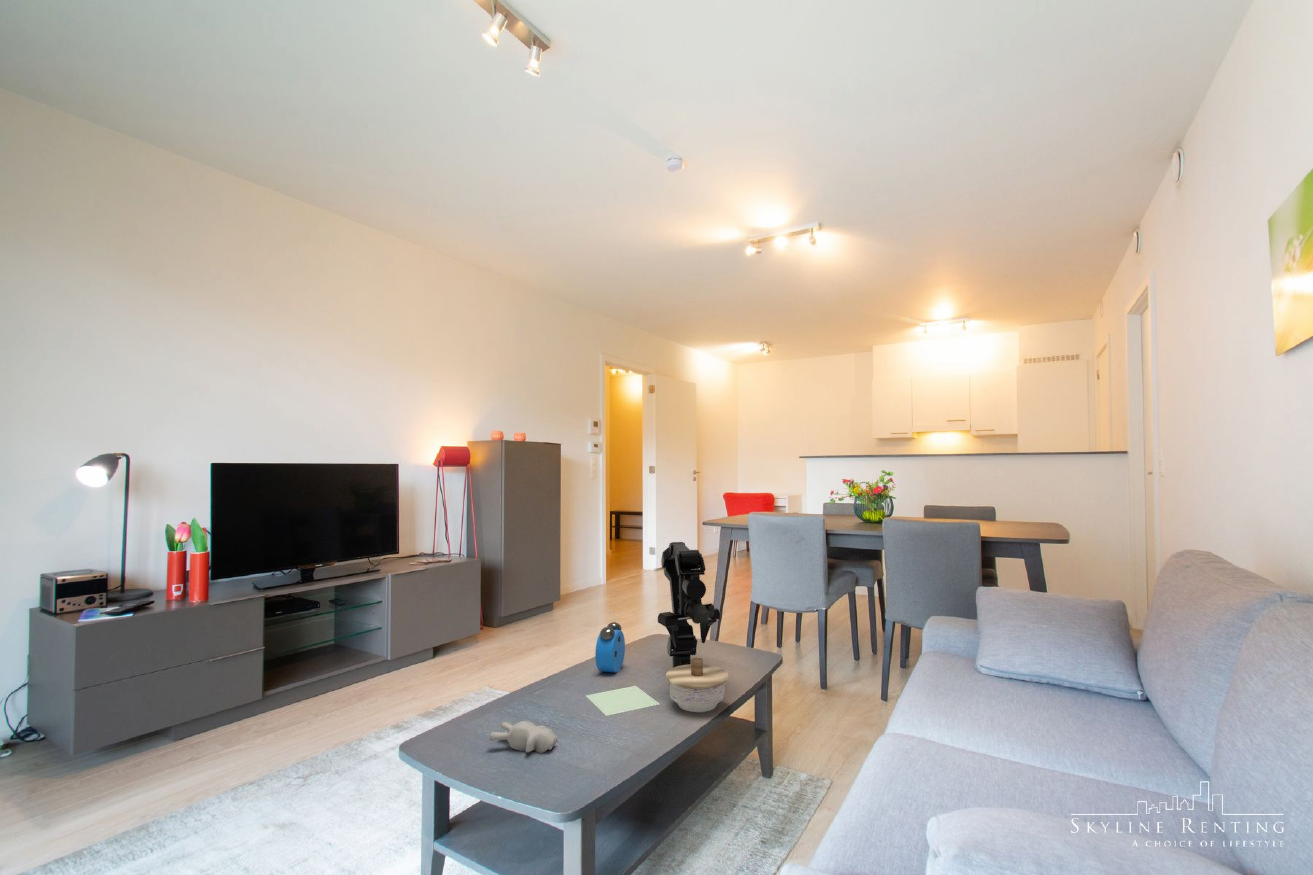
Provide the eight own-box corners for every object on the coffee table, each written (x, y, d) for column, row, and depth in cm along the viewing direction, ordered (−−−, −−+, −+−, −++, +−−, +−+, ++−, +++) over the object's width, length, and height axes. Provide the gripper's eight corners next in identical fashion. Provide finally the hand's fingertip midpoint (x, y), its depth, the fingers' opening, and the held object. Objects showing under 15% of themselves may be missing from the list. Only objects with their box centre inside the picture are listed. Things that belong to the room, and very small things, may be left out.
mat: (585, 697, 172) (585, 695, 172) (635, 687, 179) (635, 685, 179) (606, 717, 158) (606, 715, 158) (660, 706, 165) (660, 704, 165)
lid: (656, 672, 169) (656, 655, 169) (708, 663, 176) (708, 647, 176) (683, 692, 154) (683, 673, 154) (740, 682, 161) (739, 663, 161)
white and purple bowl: (704, 723, 154) (704, 691, 154) (658, 708, 163) (658, 679, 164) (735, 704, 166) (735, 675, 166) (691, 692, 175) (690, 664, 176)
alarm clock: (608, 664, 201) (608, 619, 202) (626, 665, 199) (625, 620, 200) (594, 677, 188) (594, 629, 189) (613, 679, 187) (613, 630, 187)
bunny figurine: (547, 741, 136) (487, 727, 139) (544, 763, 136) (485, 749, 139) (562, 723, 145) (506, 711, 149) (560, 745, 145) (504, 732, 148)
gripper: (673, 601, 167) (674, 657, 167) (730, 594, 175) (731, 648, 175) (656, 593, 177) (657, 646, 177) (710, 587, 185) (711, 638, 185)
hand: (689, 645), depth 178 cm, fingers open, 9 cm apart
